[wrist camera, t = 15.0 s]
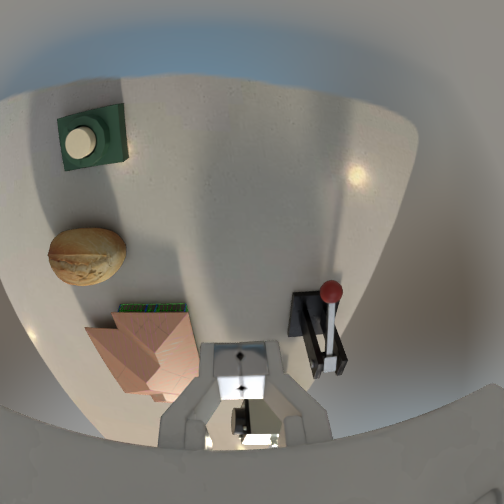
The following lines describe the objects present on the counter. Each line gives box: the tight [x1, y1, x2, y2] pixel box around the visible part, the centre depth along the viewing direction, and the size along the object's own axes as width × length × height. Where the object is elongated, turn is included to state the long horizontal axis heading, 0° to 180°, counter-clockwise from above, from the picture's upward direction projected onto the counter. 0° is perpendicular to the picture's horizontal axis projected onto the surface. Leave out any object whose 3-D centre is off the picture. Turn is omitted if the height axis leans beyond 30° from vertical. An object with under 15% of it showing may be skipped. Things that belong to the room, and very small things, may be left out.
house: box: [85, 303, 200, 403], centre depth 54 cm, size 23×33×8 cm
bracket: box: [288, 291, 348, 379], centre depth 47 cm, size 11×9×14 cm
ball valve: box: [231, 398, 282, 446], centre depth 59 cm, size 18×8×18 cm, turn 78°
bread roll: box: [48, 228, 126, 286], centre depth 38 cm, size 10×15×8 cm, turn 95°
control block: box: [57, 103, 129, 171], centre depth 31 cm, size 10×8×4 cm
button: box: [65, 127, 96, 159], centre depth 29 cm, size 4×4×2 cm
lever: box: [320, 280, 343, 373], centre depth 42 cm, size 15×4×4 cm, turn 0°
